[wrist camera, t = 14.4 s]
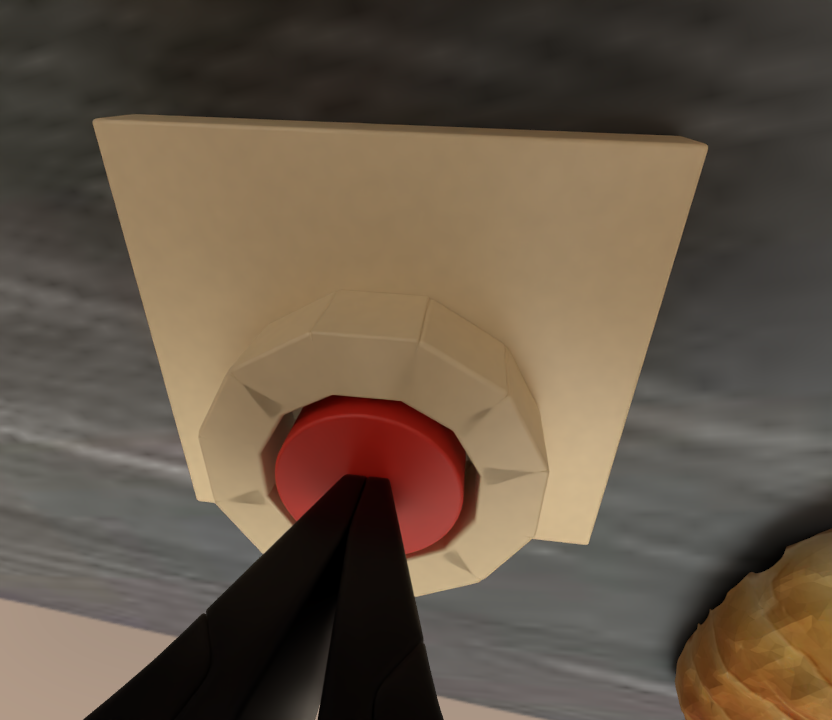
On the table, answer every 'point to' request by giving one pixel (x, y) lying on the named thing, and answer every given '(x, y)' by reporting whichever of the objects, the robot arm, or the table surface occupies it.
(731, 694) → the pastry
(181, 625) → the table surface
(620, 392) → the switch block
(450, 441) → the button
